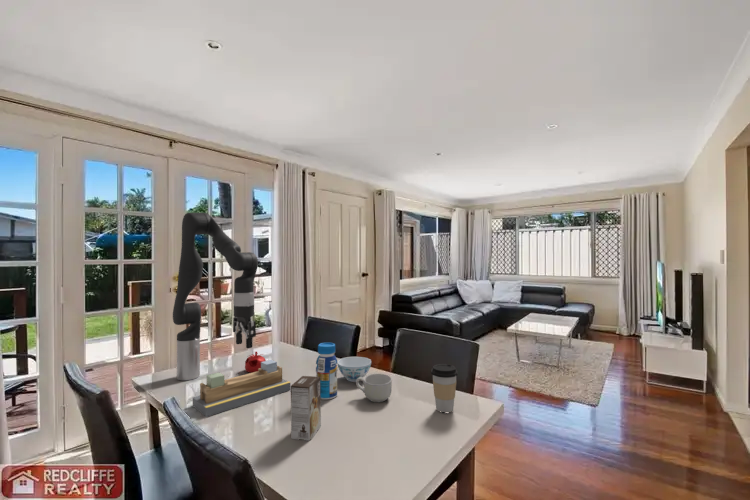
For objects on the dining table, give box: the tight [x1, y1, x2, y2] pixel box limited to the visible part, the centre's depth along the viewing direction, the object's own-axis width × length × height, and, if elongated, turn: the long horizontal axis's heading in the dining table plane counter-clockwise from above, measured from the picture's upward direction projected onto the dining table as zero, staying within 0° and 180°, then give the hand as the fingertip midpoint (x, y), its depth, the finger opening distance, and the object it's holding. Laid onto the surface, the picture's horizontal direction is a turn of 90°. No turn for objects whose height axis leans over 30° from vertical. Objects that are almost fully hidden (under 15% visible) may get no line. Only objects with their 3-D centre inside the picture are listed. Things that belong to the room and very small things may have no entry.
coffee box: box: [290, 375, 322, 441], centre depth 110 cm, size 9×6×16 cm
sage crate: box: [206, 372, 225, 388], centre depth 130 cm, size 5×5×4 cm
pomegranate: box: [244, 351, 267, 373], centre depth 169 cm, size 10×10×9 cm
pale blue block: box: [261, 359, 278, 373], centre depth 145 cm, size 5×5×4 cm
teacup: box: [355, 373, 393, 403], centre depth 136 cm, size 14×11×8 cm
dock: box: [192, 378, 291, 418], centre depth 138 cm, size 13×33×3 cm, turn 136°
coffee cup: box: [430, 363, 459, 413], centre depth 126 cm, size 9×9×15 cm
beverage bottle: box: [315, 342, 339, 401], centre depth 139 cm, size 8×8×20 cm
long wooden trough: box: [199, 365, 283, 404], centre depth 138 cm, size 6×30×6 cm, turn 136°
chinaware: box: [336, 356, 372, 383], centre depth 157 cm, size 15×15×8 cm
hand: (244, 345), depth 138 cm, fingers open, 8 cm apart
